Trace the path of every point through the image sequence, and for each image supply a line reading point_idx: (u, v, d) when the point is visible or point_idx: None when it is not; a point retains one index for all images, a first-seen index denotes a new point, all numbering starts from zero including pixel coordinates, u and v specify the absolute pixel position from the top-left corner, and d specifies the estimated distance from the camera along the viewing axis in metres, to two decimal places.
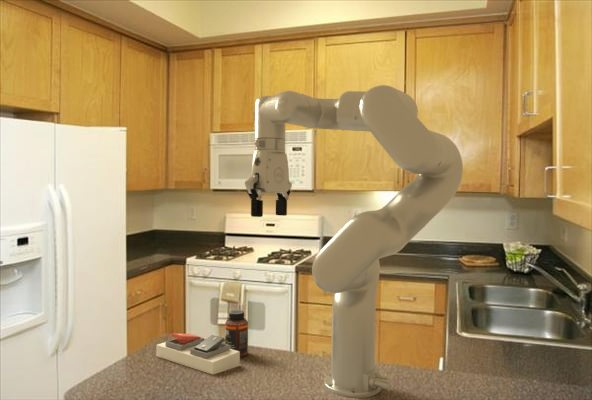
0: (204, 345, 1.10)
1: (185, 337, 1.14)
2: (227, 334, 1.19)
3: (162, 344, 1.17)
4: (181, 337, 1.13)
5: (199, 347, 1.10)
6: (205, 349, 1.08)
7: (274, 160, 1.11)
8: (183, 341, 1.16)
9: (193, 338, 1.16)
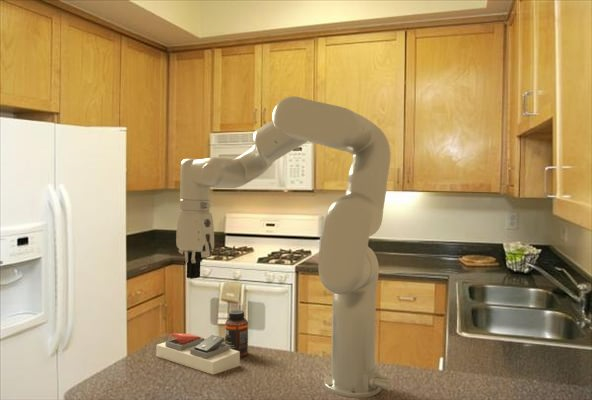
0: (204, 345, 1.10)
1: (185, 337, 1.14)
2: (227, 334, 1.19)
3: (162, 344, 1.17)
4: (181, 337, 1.13)
5: (199, 347, 1.10)
6: (205, 349, 1.08)
7: None
8: (183, 341, 1.16)
9: (193, 338, 1.16)
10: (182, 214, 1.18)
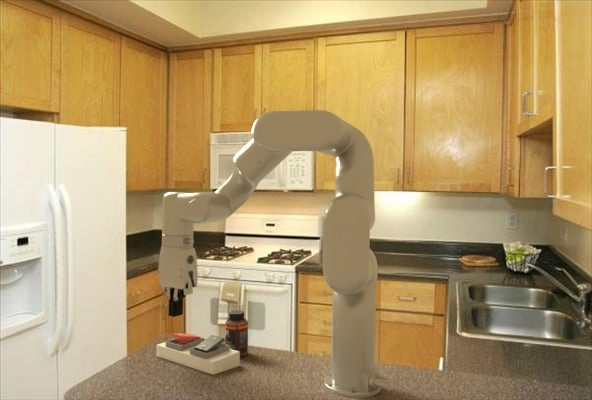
0: (204, 345, 1.10)
1: (185, 337, 1.14)
2: (227, 334, 1.19)
3: (162, 344, 1.17)
4: (181, 337, 1.13)
5: (199, 347, 1.10)
6: (205, 349, 1.08)
7: None
8: (183, 341, 1.16)
9: (193, 338, 1.16)
10: (164, 249, 1.13)
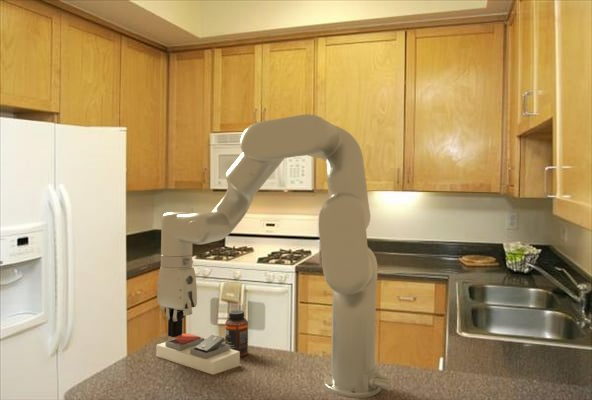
0: (204, 345, 1.10)
1: (185, 337, 1.14)
2: (227, 334, 1.19)
3: (162, 344, 1.17)
4: (181, 337, 1.13)
5: (199, 347, 1.10)
6: (205, 349, 1.08)
7: None
8: (183, 341, 1.16)
9: (193, 338, 1.16)
10: (163, 270, 1.13)
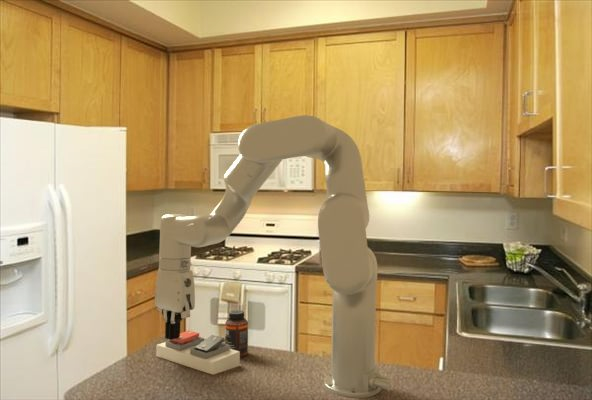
0: (204, 345, 1.10)
1: (184, 340, 1.14)
2: (227, 334, 1.19)
3: (162, 344, 1.17)
4: (180, 341, 1.13)
5: (199, 347, 1.10)
6: (205, 349, 1.08)
7: None
8: (183, 342, 1.16)
9: (193, 337, 1.16)
10: (161, 272, 1.13)
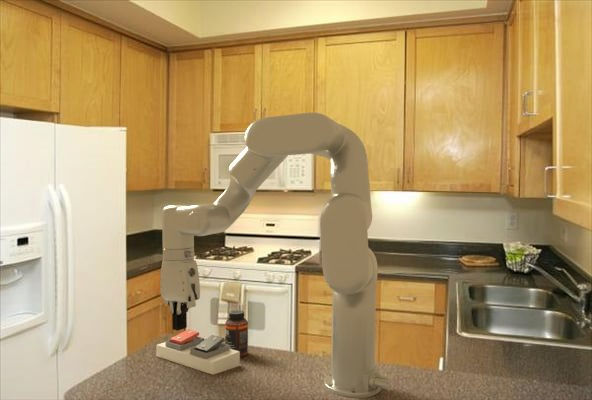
0: (204, 345, 1.10)
1: (184, 340, 1.14)
2: (227, 334, 1.19)
3: (162, 344, 1.17)
4: (180, 342, 1.13)
5: (199, 347, 1.10)
6: (205, 349, 1.08)
7: None
8: (183, 342, 1.16)
9: (192, 337, 1.16)
10: (165, 263, 1.13)
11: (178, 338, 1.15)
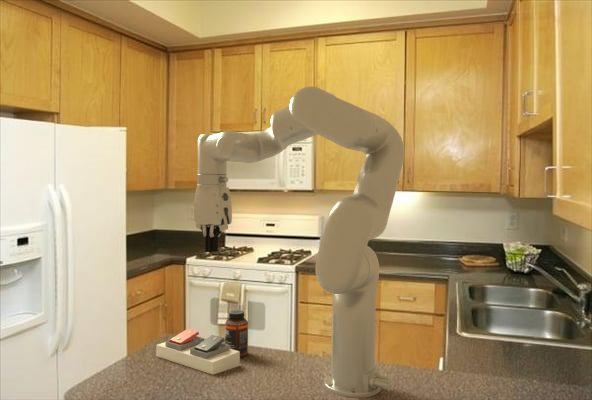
0: (204, 345, 1.10)
1: (184, 341, 1.14)
2: (227, 334, 1.19)
3: (162, 344, 1.17)
4: (180, 343, 1.13)
5: (199, 347, 1.10)
6: (205, 349, 1.08)
7: None
8: None
9: (192, 337, 1.16)
10: (200, 189, 1.20)
11: (178, 339, 1.15)
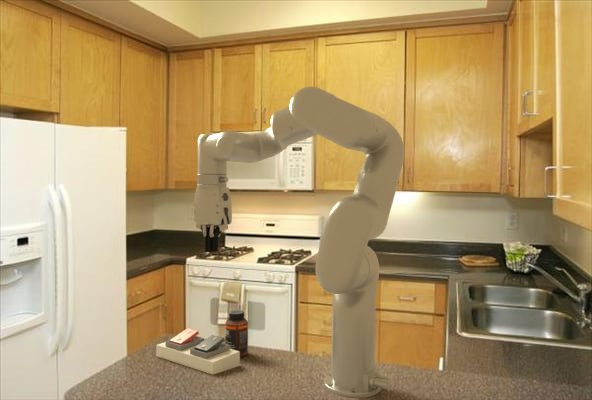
0: (204, 345, 1.10)
1: (184, 342, 1.14)
2: (227, 334, 1.19)
3: (162, 344, 1.17)
4: (180, 344, 1.13)
5: (199, 347, 1.10)
6: (205, 349, 1.08)
7: None
8: None
9: (192, 337, 1.16)
10: (200, 189, 1.20)
11: (178, 339, 1.15)
